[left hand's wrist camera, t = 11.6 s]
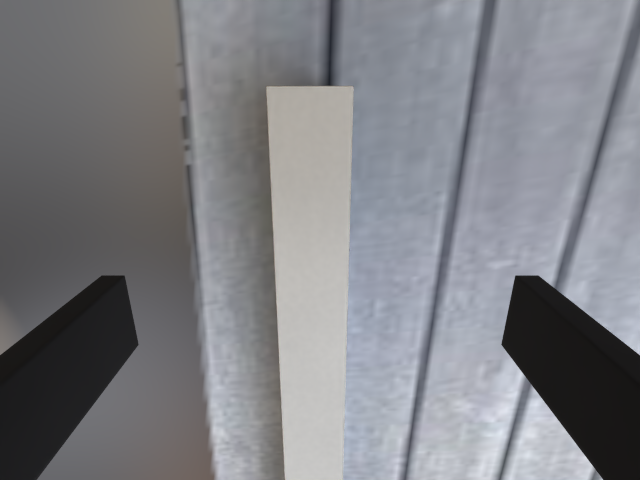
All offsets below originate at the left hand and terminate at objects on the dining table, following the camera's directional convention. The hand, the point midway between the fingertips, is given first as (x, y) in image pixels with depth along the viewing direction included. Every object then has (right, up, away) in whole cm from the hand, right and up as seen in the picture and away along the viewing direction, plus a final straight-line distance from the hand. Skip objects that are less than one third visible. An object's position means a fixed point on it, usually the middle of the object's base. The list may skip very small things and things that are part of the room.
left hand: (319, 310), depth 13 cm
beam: (-1, -18, +25) cm, 31 cm away
